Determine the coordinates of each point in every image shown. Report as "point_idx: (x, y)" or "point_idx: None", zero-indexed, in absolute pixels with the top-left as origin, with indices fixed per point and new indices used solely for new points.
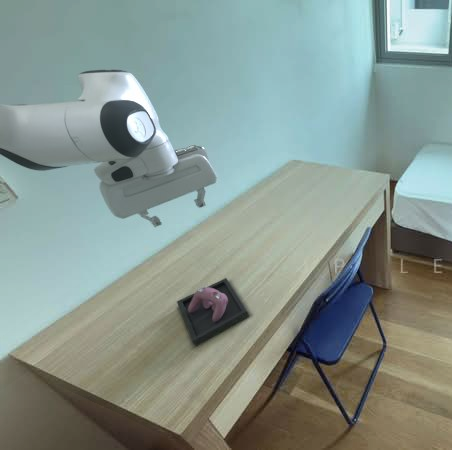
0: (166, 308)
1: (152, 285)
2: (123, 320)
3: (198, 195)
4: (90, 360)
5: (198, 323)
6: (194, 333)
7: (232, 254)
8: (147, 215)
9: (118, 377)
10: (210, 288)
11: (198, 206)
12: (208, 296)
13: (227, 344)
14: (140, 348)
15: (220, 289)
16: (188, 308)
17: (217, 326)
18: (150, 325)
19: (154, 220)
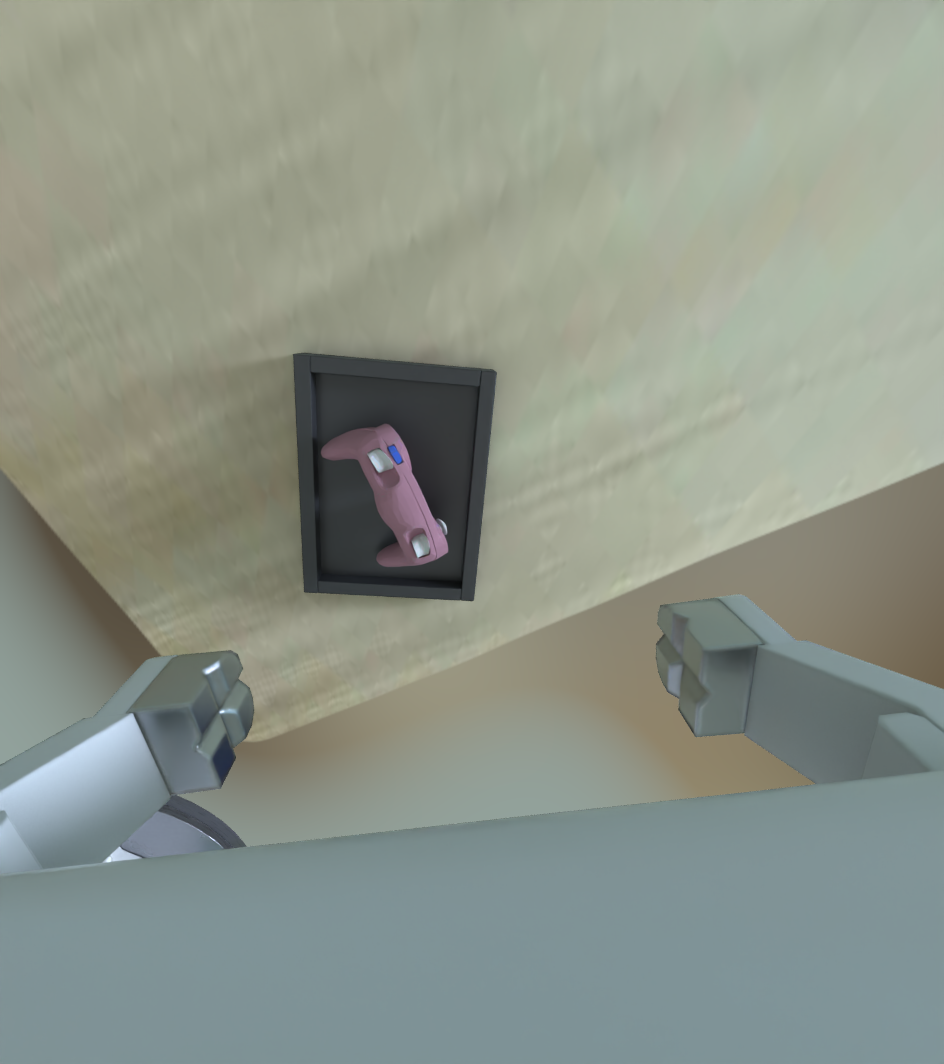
0: (254, 316)
1: (210, 47)
2: (92, 239)
3: (812, 699)
4: (5, 381)
5: (337, 513)
6: (315, 568)
7: (605, 147)
8: (71, 812)
9: (105, 525)
10: (415, 494)
11: (664, 663)
12: (394, 529)
13: (383, 633)
14: (161, 459)
15: (453, 400)
16: (323, 452)
17: (380, 593)
18: (193, 369)
19: (171, 792)
